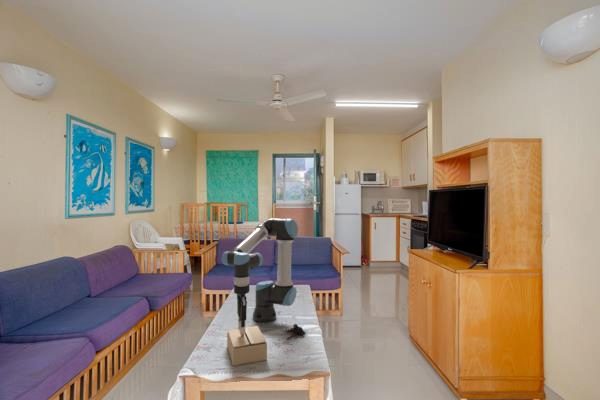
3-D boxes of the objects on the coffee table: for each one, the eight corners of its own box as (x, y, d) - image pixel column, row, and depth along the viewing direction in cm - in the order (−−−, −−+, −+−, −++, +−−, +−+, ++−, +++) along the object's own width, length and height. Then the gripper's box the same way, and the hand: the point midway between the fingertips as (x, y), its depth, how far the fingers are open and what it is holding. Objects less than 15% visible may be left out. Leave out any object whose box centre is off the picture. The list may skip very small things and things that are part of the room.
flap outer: (227, 331, 160) (227, 312, 160) (242, 328, 163) (241, 310, 163) (233, 347, 143) (233, 327, 142) (249, 344, 145) (248, 324, 145)
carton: (227, 346, 161) (227, 329, 161) (257, 341, 166) (257, 325, 166) (233, 366, 142) (233, 347, 142) (266, 360, 148) (267, 341, 148)
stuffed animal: (305, 327, 183) (305, 322, 173) (305, 345, 178) (304, 341, 168) (286, 326, 184) (284, 321, 174) (284, 344, 179) (283, 340, 169)
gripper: (231, 281, 159) (231, 326, 160) (236, 289, 144) (237, 339, 144) (246, 279, 162) (246, 324, 162) (252, 288, 147) (252, 337, 147)
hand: (241, 331), depth 153 cm, fingers closed on flap outer, 3 cm apart
